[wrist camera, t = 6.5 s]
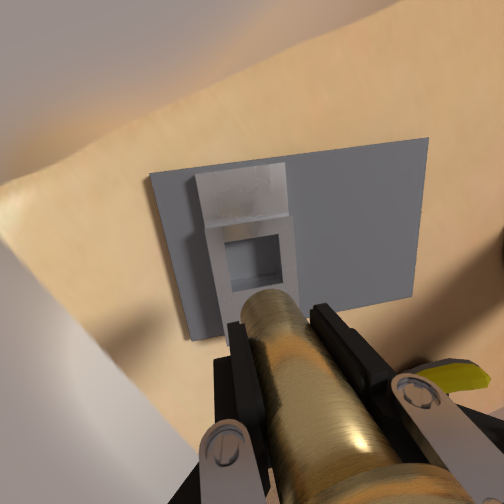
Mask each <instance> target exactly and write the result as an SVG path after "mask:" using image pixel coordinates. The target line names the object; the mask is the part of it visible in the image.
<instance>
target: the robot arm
mask: <svg viewBox="0 0 504 504" xmlns="http://www.w3.org/2000/svg"><path fill="white" fill-rule="evenodd" d="M310 325H311V327H312V328H313V330H314V331H315V333H316V334H317V336H318V337H319V339H320V340H321V342H322V343H323V345H324V346H325V348H326V349H327V351H328V352H329V354H330V355H331V356H332V358H333V359H334V361H335V362H336V364H337V365H338V367H339V368H340V370H341V371H342V373H343V374H344V376H345V377H346V379H347V380H348V382H349V383H350V385H351V386H352V388H353V389H354V391H355V392H356V394H357V395H358V397H359V398H360V400H361V401H362V402H363V404H364V405H365V407H366V408H367V410H368V411H369V413H370V414H371V416H372V417H373V419H374V420H375V422H376V423H377V425H378V426H379V428H380V429H381V431H382V432H383V434H384V435H385V437H386V438H387V440H388V441H389V443H390V444H391V446H392V447H393V449H394V450H395V451H396V453H397V454H398V456H399V457H400V459H401V460H402V462H403V463H404V464H405V463H423V464H430V465H435V466H438V467H441V468H443V469H445V470H447V471H449V472H450V473H452V474H453V475H454V477H455V478H456V479H457V480H458V482H459V483H460V484H461V485H462V487H463V488H464V489H465V490H466V491H467V493H468V494H469V495H470V496H471V498H472V499H473V500H474V501H475V503H476V504H504V421H503V420H500V419H497V418H495V417H492V416H489V415H486V414H483V413H481V412H478V411H475V410H472V409H469V408H466V407H464V406H461V405H458V404H455V403H454V402H453V401H452V400H451V399H450V398H449V397H448V396H447V395H446V394H445V393H444V392H443V391H442V390H441V388H439V387H438V386H437V385H436V384H435V383H434V382H432V381H430V380H428V379H427V378H425V377H422V376H419V375H416V374H411V373H402V374H399V375H398V374H397V373H396V372H395V371H394V370H393V369H392V368H391V367H390V366H389V365H388V364H387V363H386V362H385V361H384V360H383V358H382V357H381V356H380V355H379V354H378V353H377V352H376V351H375V350H374V349H373V348H372V347H371V346H370V345H369V344H368V343H367V341H366V340H365V339H364V338H363V337H362V336H361V335H360V334H359V333H358V332H357V331H356V330H355V329H353V328H349V327H348V326H347V325H346V324H345V322H344V321H343V320H342V319H341V318H340V317H339V316H338V315H337V314H336V313H335V311H334V310H333V309H332V308H331V307H330V306H329V305H328V304H327V303H321V304H317V305H314V306H313V309H310ZM227 329H228V338H229V346H230V354H231V356H226V357H222V358H217V359H214V361H213V368H214V407H215V424H213V425H212V426H211V427H210V428H209V429H208V430H207V431H206V433H205V434H204V436H203V437H202V440H201V443H200V446H199V462H198V463H197V465H196V466H195V468H194V469H193V470H192V472H191V473H190V474H189V476H188V477H187V478H186V480H185V481H184V482H183V484H182V485H181V486H180V488H179V489H178V491H177V492H176V493H175V494H174V496H173V497H172V498H171V500H170V501H169V503H168V504H267V503H266V499H265V498H266V496H267V494H268V492H269V490H270V488H271V486H270V480H269V474H268V469H269V468H272V464H271V460H270V455H269V451H268V446H267V441H266V428H267V423H266V416H265V409H264V403H263V398H262V394H261V389H260V385H259V381H258V377H257V373H256V369H255V364H254V360H253V356H252V352H251V348H250V344H249V340H248V335H247V331H246V327H245V323H243V324H240V323H239V321H236V322H231V323H227Z"/></svg>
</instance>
